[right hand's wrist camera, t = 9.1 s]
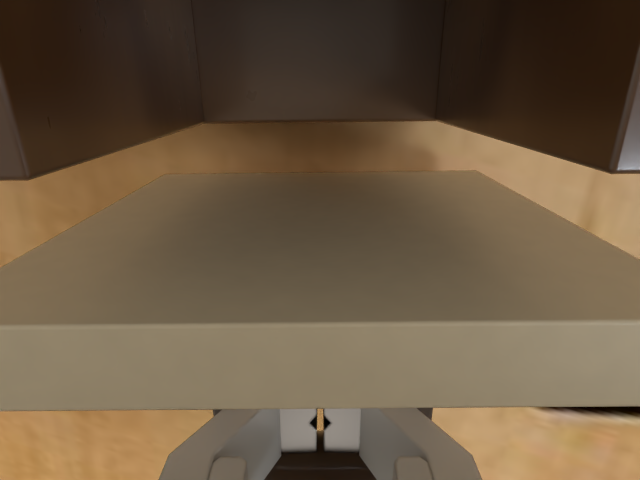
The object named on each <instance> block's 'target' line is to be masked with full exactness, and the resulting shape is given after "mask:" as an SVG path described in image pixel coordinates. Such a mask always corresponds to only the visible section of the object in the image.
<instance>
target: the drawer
mask: <svg viewBox="0 0 640 480" xmlns="http://www.w3.org/2000/svg"><path fill="white" fill-rule="evenodd" d="M388 121H438V122H442V123H445V124H448V125H451V126H455V127H458V128H461V129H465V130H468V131H471V132H475V133H478V134H481V135H484V136H488V137H491V138H494V139H498V140H501V141H504V142H507V143H511V144H514V145H517V146H521V147H524V148H527V149H531V150H534V151H537V152H540V153H544V154H547V155H550V156H554V157H557V158H560V159H563V160H567V161H570V162H573V163H577V164H580V165H583V166H587V167H590V168H593V169H596V170H600V171H603V172H606V173H610V174H640V0H0V181H20V180H31V179H34V178H37V177H40V176H43V175H46V174H49V173H52V172H55V171H58V170H62V169H65V168H68V167H71V166H74V165H77V164H80V163H83V162H86V161H89V160H92V159H96V158H99V157H102V156H105V155H108V154H111V153H114V152H117V151H120V150H123V149H127V148H130V147H133V146H136V145H139V144H142V143H145V142H148V141H151V140H154V139H157V138H161V137H164V136H167V135H170V134H173V133H176V132H179V131H182V130H185V129H188V128H191V127H195V126H198V125H201V124H217V123H302V122H388ZM592 406H640V260H639V259H638V258H636V257H634V256H632V255H630V254H628V253H627V252H625V251H623V250H621V249H619V248H617V247H616V246H614V245H612V244H610V243H608V242H606V241H605V240H603V239H601V238H599V237H597V236H595V235H594V234H592V233H590V232H588V231H586V230H584V229H582V228H581V227H579V226H577V225H575V224H573V223H571V222H570V221H568V220H566V219H564V218H562V217H560V216H559V215H557V214H555V213H553V212H551V211H549V210H548V209H546V208H544V207H542V206H540V205H538V204H537V203H535V202H533V201H531V200H529V199H527V198H526V197H524V196H522V195H520V194H518V193H516V192H515V191H513V190H511V189H509V188H507V187H505V186H504V185H502V184H500V183H498V182H496V181H494V180H493V179H491V178H489V177H487V176H485V175H483V174H482V173H480V172H478V171H400V172H309V173H219V174H165V175H163V176H161V177H159V178H157V179H156V180H154V181H152V182H150V183H149V184H147V185H145V186H143V187H142V188H140V189H138V190H136V191H135V192H133V193H131V194H129V195H128V196H126V197H124V198H122V199H120V200H119V201H117V202H115V203H113V204H112V205H110V206H108V207H106V208H105V209H103V210H101V211H99V212H98V213H96V214H94V215H92V216H91V217H89V218H87V219H85V220H84V221H82V222H80V223H78V224H77V225H75V226H73V227H71V228H69V229H68V230H66V231H64V232H62V233H61V234H59V235H57V236H55V237H54V238H52V239H50V240H48V241H47V242H45V243H43V244H41V245H40V246H38V247H36V248H34V249H33V250H31V251H29V252H27V253H25V254H24V255H22V256H20V257H18V258H17V259H15V260H13V261H11V262H10V263H8V264H6V265H4V266H3V267H1V268H0V411H90V410H213V415H214V416H215V415H216V414H218V413H219V412H220V411H221V410H222V409H341V408H417V409H418V410H419V411H420V412H422V413H423V414H424V415H425V416H426V417H428V418H429V419H430V420H432V411H433V408H467V407H592ZM264 480H377V479H376V478H375V477H374V475H373V474H372V472H371V471H370V470H369V468H368V467H367V465H366V464H365V463H364V461H363V460H362V459H361V457H360V456H359V453H324V431H323V430H321V431H317V452H316V453H282V454H281V457H280V458H279V460H278V461H277V462H276V464H275V465H274V467H273V468H272V469H271V471H270V472H269V474H268V475H267V476H266V478H265V479H264Z"/></svg>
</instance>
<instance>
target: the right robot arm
mask: <svg viewBox="0 0 640 480" xmlns="http://www.w3.org/2000/svg"><path fill="white" fill-rule="evenodd" d="M323 431H324V453H359V456H360V457H361V459H362V460H363V461H364V463H365V464H366V465H367V467H368V468H369V470H370V471H371V472H372V474H373V475H374V477H375V478H376V479H377V480H482V478H481V476H480V473H479V471H478V468H477V466H476V463H475V461H474V458H473V456H472V455H471V454H470V453H469V452H468V451H467V450H465V449H464V448H463V447H462V446H461V445H460V444H458V443H457V442H456V441H455V440H454V439H452V438H451V437H450V436H449V435H448V434H446V433H445V432H444V431H443V430H442V429H441V428H439V427H438V426H437V425H436V424H435V423H433V422H432V421H431V420H430V419H429V418H428V417H426V416H425V415H424V414H423V413H422V412H420V411H419V410H418V409H417V408H341V409H323ZM316 452H317V409H222V410H221V411H220V412H219V413H218V414H216V415H215V416H214V417H213V418H212V419H211V420H209V421H208V422H207V423H206V424H205V425H203V426H202V427H201V428H200V429H199V430H197V431H196V432H195V433H194V434H193V435H192V436H190V437H189V438H188V439H187V440H186V441H184V442H183V443H182V444H181V445H180V446H178V447H177V448H176V449H175V450H174V451H173V452H171V453H170V454H169V456H168V458H167V461H166V463H165V465H164V468H163V470H162V473H161V475H160V477H159V480H264V479H265V478H266V476H267V475H268V474H269V472H270V471H271V469H272V468H273V467H274V465H275V464H276V462H277V461H278V460H279V458H280V457H281V454H282V453H316Z"/></svg>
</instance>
